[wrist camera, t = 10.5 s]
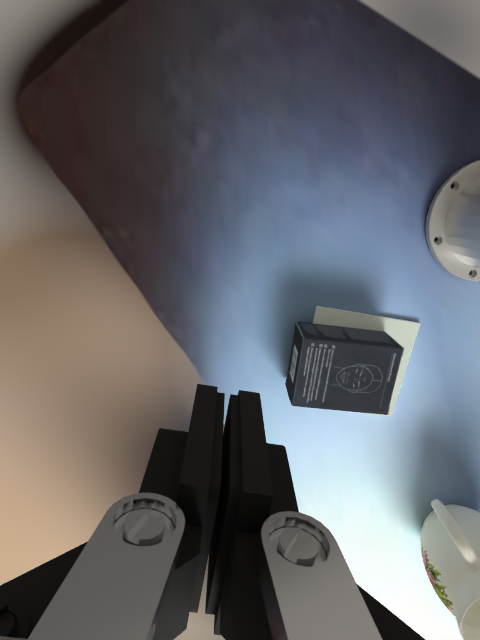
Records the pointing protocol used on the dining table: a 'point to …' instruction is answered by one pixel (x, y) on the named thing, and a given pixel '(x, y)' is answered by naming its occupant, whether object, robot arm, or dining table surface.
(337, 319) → the mat
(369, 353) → the box
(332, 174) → the dining table surface
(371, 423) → the dining table surface
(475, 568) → the pitcher
